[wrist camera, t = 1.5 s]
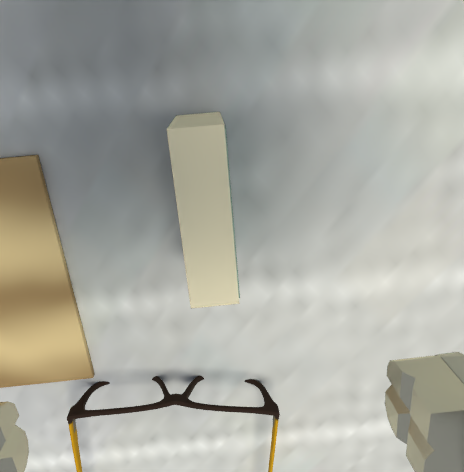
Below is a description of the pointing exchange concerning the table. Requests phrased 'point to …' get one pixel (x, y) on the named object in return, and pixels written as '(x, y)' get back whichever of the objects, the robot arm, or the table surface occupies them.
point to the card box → (204, 207)
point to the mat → (35, 285)
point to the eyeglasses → (169, 400)
